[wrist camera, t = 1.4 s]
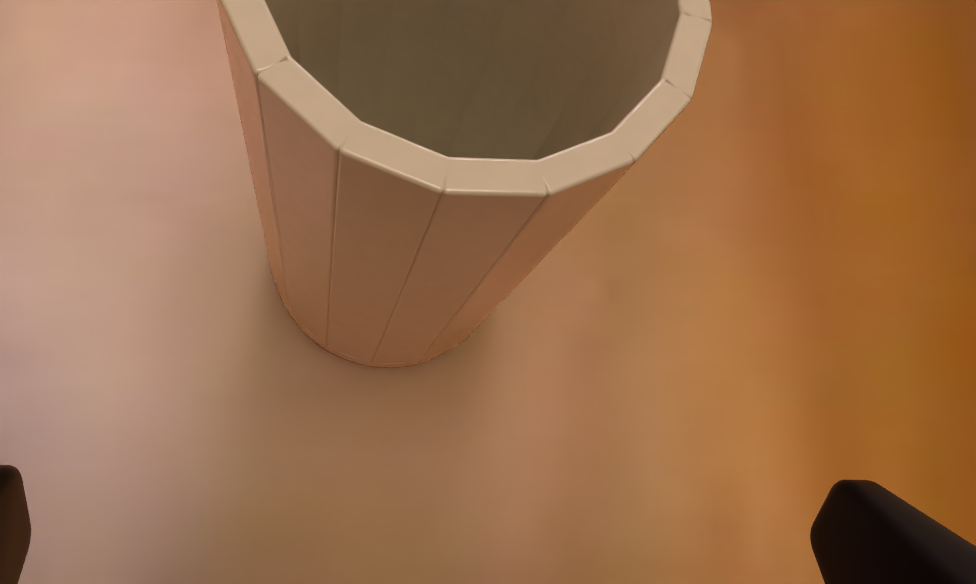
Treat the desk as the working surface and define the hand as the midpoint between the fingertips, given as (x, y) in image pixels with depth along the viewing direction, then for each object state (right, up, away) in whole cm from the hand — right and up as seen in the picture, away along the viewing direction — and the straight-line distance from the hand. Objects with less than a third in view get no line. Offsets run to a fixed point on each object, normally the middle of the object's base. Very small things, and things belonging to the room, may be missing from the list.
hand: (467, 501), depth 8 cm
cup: (-3, +3, +14) cm, 14 cm away
